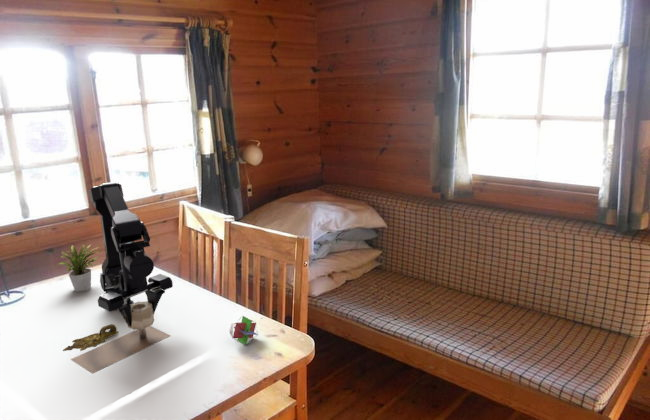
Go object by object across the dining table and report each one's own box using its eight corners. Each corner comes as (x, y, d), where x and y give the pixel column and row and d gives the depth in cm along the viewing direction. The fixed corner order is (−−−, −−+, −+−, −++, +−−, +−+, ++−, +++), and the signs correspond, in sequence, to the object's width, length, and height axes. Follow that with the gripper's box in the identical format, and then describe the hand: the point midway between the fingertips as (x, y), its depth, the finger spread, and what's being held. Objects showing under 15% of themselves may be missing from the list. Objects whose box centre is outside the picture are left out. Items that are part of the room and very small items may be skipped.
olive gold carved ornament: (68, 367, 126) (126, 344, 136) (65, 351, 125) (124, 329, 134) (56, 350, 132) (112, 329, 142) (53, 335, 131) (110, 315, 141)
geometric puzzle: (253, 322, 138) (236, 307, 133) (268, 330, 134) (252, 315, 129) (237, 344, 136) (220, 330, 131) (252, 353, 131) (235, 338, 126)
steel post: (144, 335, 136) (141, 312, 134) (148, 337, 135) (144, 314, 133) (138, 337, 134) (135, 314, 133) (142, 339, 133) (138, 316, 132)
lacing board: (148, 328, 142) (148, 324, 142) (171, 339, 135) (171, 335, 135) (71, 363, 125) (70, 359, 125) (93, 377, 119) (92, 373, 118)
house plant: (92, 298, 164) (85, 251, 160) (51, 299, 164) (42, 252, 160) (111, 281, 178) (104, 237, 174) (73, 282, 178) (65, 239, 174)
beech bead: (145, 316, 138) (142, 299, 136) (158, 322, 134) (155, 305, 133) (124, 325, 133) (121, 308, 132) (137, 331, 129) (134, 314, 128)
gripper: (147, 250, 141) (153, 301, 145) (82, 271, 127) (92, 326, 131) (170, 258, 135) (177, 310, 138) (105, 280, 120) (114, 338, 124)
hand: (140, 320), depth 133 cm, fingers closed on beech bead, 6 cm apart
